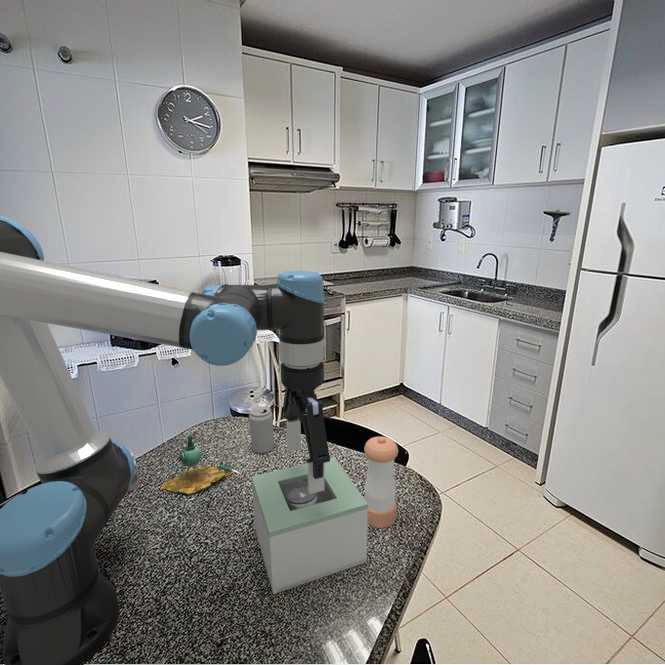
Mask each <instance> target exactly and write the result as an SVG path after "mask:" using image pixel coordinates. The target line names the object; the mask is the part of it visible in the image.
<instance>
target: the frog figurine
mask: <svg viewBox="0 0 665 665" xmlns="http://www.w3.org/2000/svg"><path fill="white" fill-rule="evenodd" d="M183 442H184V445H183V448H182V451H181V452H180V453H179V456H178V463H181V464H182V465H183V468H182V467H179V466H177V465H176V464H175V463H173V464H172V465H171V467H172V468H175V467H176V468H178V469H180V470H181V472H178V471H177V472H176V476H175V477H174V478H173V479H172V478H171V479H170V480H169V481H166V482H163V484H161V487H160V490H162V491H163V490H167V491H168V492H171V493H172V494H174V493H175V494H176V493H182V494H186V495H191V494H195V493H197V492H198V491H201V490H203V489H206V488H209V487H210V486H211V484H212V483H216V482H218V481H219V480H221V479H223V478H225V477H229V476H232V475H233V474H235V473H236V471H234V470H233V469H232V468H231V466H230V465H228V464H227V462H225V463H224V462H223V459H221V460H220V462H219V465H215V466H214V465H208V466H200V467H196V466H197V465H198V464H199V463H200V462H201V458H202V451H203V453H204V457H203V459H204V460H207V459H208V457H207V456H206V451H205V450H204V449H200V448H199V446H196V445H195V443H194V442H193V433H192V432H191V433H189V434H188V436H187V441H186V440H183ZM186 442H187V443H186ZM186 467H188V468H187V469H185V468H186ZM190 467H192V468H190ZM184 469H185V470H184Z"/></svg>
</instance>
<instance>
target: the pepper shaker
mask: <svg viewBox="0 0 665 665" xmlns="http://www.w3.org/2000/svg"><path fill="white" fill-rule="evenodd" d="M363 449H364V450H363V451H364V454H365V455H366V457H367V473H366V477H365V478H366V479H365V483H364V497H363V498H364V499H365V501H366V502H367V504H368V520H367V525H369V526H371V527H374V528H377V529H384V528H385V529H386V528H388V527H391V526H393V524H394V523H395V522H396V520H397V508H398V503H397V500H396V494H397V493H396V491H397V489H396V488H397V486H396V481H395V475H394V474H395V473H394V472H395V459H396V458H397V457H398V454H399V448H398V444H397V443H396V442H395V441H394V440H393V439H391V438H390V437H386V436H374V437H371V438H369V439H368V440H367V441H366V443H365V444H364V448H363Z"/></svg>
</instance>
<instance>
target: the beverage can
mask: <svg viewBox="0 0 665 665" xmlns="http://www.w3.org/2000/svg"><path fill="white" fill-rule="evenodd" d="M248 421H249V431H250V432H249V434H250V443H251V444H250V445H251V450H252V451H253V452H255V453H257V454H267V453H269V452H271V451H272V450H273V449H274V448H275V434H274V431H275V430H274V418H273V412H272V409H271V408H270V407H268V406H264V405H260V406H256V407H253V408H251V409H250V411H249V414H248Z"/></svg>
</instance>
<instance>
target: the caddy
mask: <svg viewBox="0 0 665 665" xmlns="http://www.w3.org/2000/svg"><path fill="white" fill-rule="evenodd" d="M299 480H308V463H307V462H306V463H303V464H299V465H295V466H290V467H286V468H283V469H282V468H281V469H278V470H275V471H274V470H273V471H270V472H265V473H261V474H256V475H252V476H251V487H252V488H251V489H252V504H253V513H254V514H253V516H254V517H253V518H254V529H255V533H256V537H257V541H258V545H259V548H260V552H261V555H262V558H263V562H264V565H265V569H266V574H267V577H268V581H269V584H270V587H271V592H272V595H275V594H278V593H280V592H281V593H282V592H284V591H286V590H289V589H292V588H297V587H298V586H301V585H304V584H308V583H310V582H313V581H316V580H319V579H321V578H325V577H327V576H328V577H329V576H331V575H333V574H336V573H340V572H342V571H345V570H348V569H351V568H355V567H357V566H359V565H363V564H365V563H367V561H368V523H367V520H368V504H367V502H366V501H365V499H364V497H363V495H362V493H361V492H360V490H359V489H358V488H357V487H356V485H355V484H354V483H353V480H352V479H351V478H350V476H349V474H348V473H346V470H345V469H344V468H343V467H342V465H341V464H340V463H339V461H338V460H337V458H336V456H333V457H330V462H326V463H324V491H320V492H318V501H319V503H318V504H315V505H311V506H307V507H304V508H300V509H297V510H293V511H290V510H289V508H288V505H287V501H286V496H285V491H286V488H287V487H288V486H289V485H290V484H292V483H293V482H296V481H299Z"/></svg>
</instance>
